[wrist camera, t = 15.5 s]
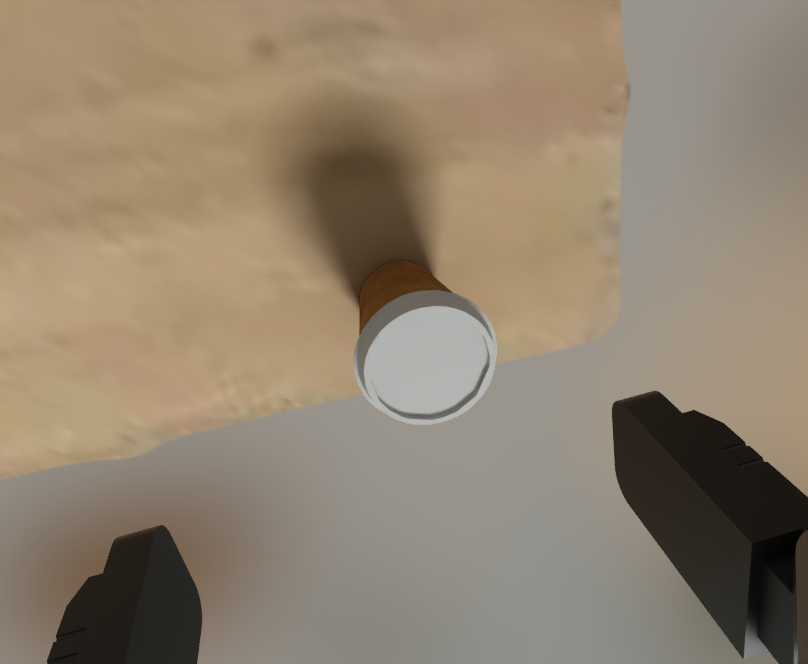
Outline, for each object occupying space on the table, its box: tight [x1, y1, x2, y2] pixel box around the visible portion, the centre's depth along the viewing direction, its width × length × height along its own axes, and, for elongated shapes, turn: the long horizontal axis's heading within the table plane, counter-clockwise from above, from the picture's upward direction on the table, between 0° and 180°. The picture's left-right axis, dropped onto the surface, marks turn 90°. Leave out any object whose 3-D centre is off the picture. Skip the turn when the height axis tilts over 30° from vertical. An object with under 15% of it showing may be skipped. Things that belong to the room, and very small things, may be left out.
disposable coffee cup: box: [354, 261, 497, 425], centre depth 46 cm, size 10×10×12 cm
